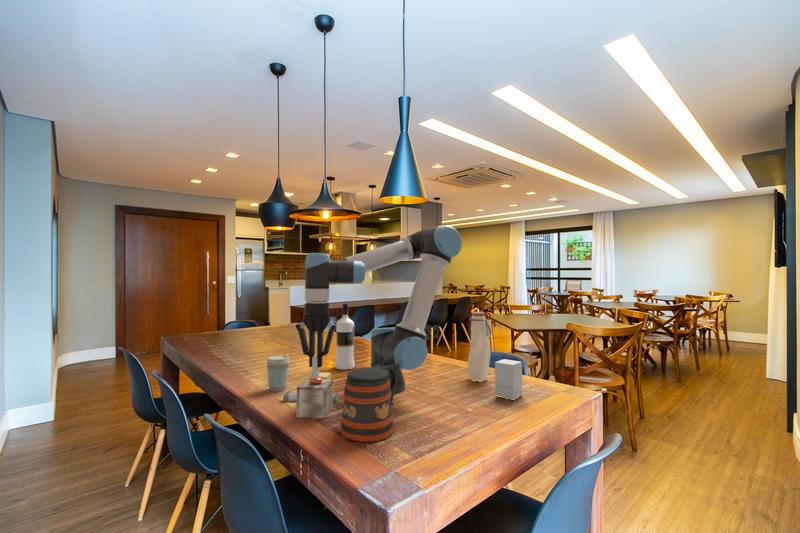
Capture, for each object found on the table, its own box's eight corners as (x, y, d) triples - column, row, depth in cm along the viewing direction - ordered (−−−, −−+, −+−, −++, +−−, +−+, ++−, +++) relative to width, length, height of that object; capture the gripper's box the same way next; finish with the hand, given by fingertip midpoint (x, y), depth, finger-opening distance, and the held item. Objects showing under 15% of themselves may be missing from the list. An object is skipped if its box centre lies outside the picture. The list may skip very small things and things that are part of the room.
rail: (338, 398, 134) (339, 392, 134) (335, 403, 129) (335, 397, 129) (288, 397, 135) (288, 391, 135) (283, 401, 130) (283, 395, 130)
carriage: (330, 397, 135) (331, 372, 135) (326, 402, 129) (327, 377, 129) (316, 396, 135) (317, 372, 135) (311, 402, 129) (312, 376, 129)
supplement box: (523, 396, 138) (523, 361, 139) (513, 401, 133) (513, 364, 133) (504, 392, 143) (504, 358, 144) (494, 396, 138) (494, 361, 138)
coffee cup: (282, 393, 139) (283, 360, 139) (261, 392, 141) (261, 359, 141) (293, 387, 147) (294, 355, 148) (273, 385, 149) (273, 354, 149)
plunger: (323, 393, 122) (323, 376, 122) (320, 397, 118) (320, 380, 118) (310, 393, 123) (311, 376, 123) (307, 397, 119) (307, 379, 119)
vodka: (338, 365, 184) (339, 302, 185) (357, 366, 183) (358, 302, 183) (331, 369, 175) (332, 303, 176) (351, 370, 173) (352, 304, 174)
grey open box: (332, 407, 125) (333, 379, 125) (325, 418, 116) (326, 387, 116) (305, 407, 125) (305, 379, 125) (296, 417, 116) (296, 387, 116)
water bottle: (495, 379, 162) (495, 312, 162) (487, 384, 154) (488, 314, 155) (472, 375, 167) (472, 311, 168) (464, 380, 159) (464, 312, 160)
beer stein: (374, 413, 120) (375, 349, 120) (413, 425, 111) (413, 355, 111) (329, 433, 104) (330, 359, 105) (369, 448, 96) (370, 367, 96)
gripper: (339, 301, 125) (338, 375, 124) (300, 301, 125) (298, 374, 125) (334, 303, 117) (333, 381, 116) (292, 302, 118) (291, 380, 117)
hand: (315, 377), depth 121 cm, fingers closed
